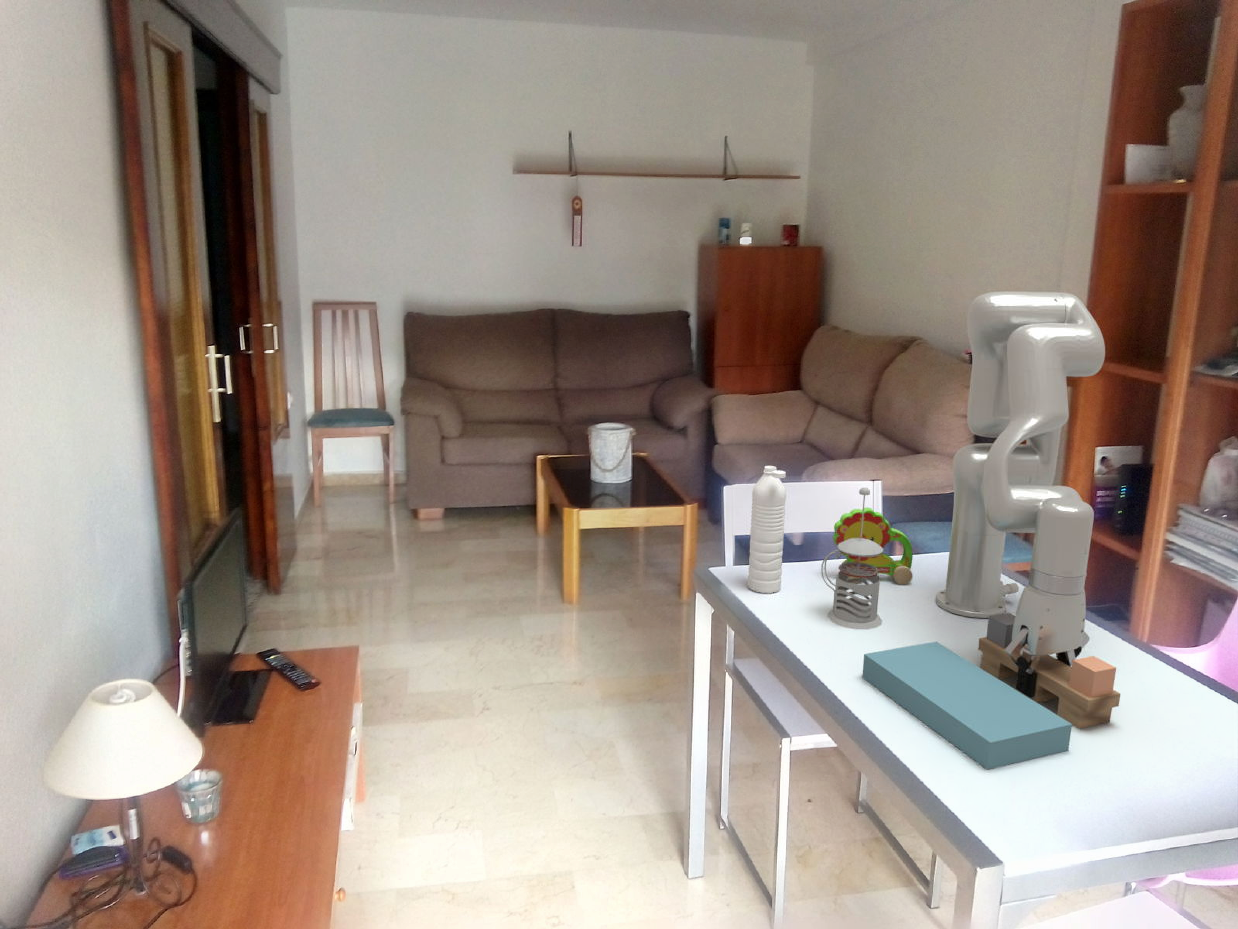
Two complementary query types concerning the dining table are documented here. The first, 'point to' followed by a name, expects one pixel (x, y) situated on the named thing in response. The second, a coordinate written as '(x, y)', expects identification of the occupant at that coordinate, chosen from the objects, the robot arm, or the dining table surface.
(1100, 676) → the pink cube
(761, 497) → the water bottle
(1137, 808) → the dining table surface
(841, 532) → the toy lion
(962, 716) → the block
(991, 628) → the block
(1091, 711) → the pallet
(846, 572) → the french press
